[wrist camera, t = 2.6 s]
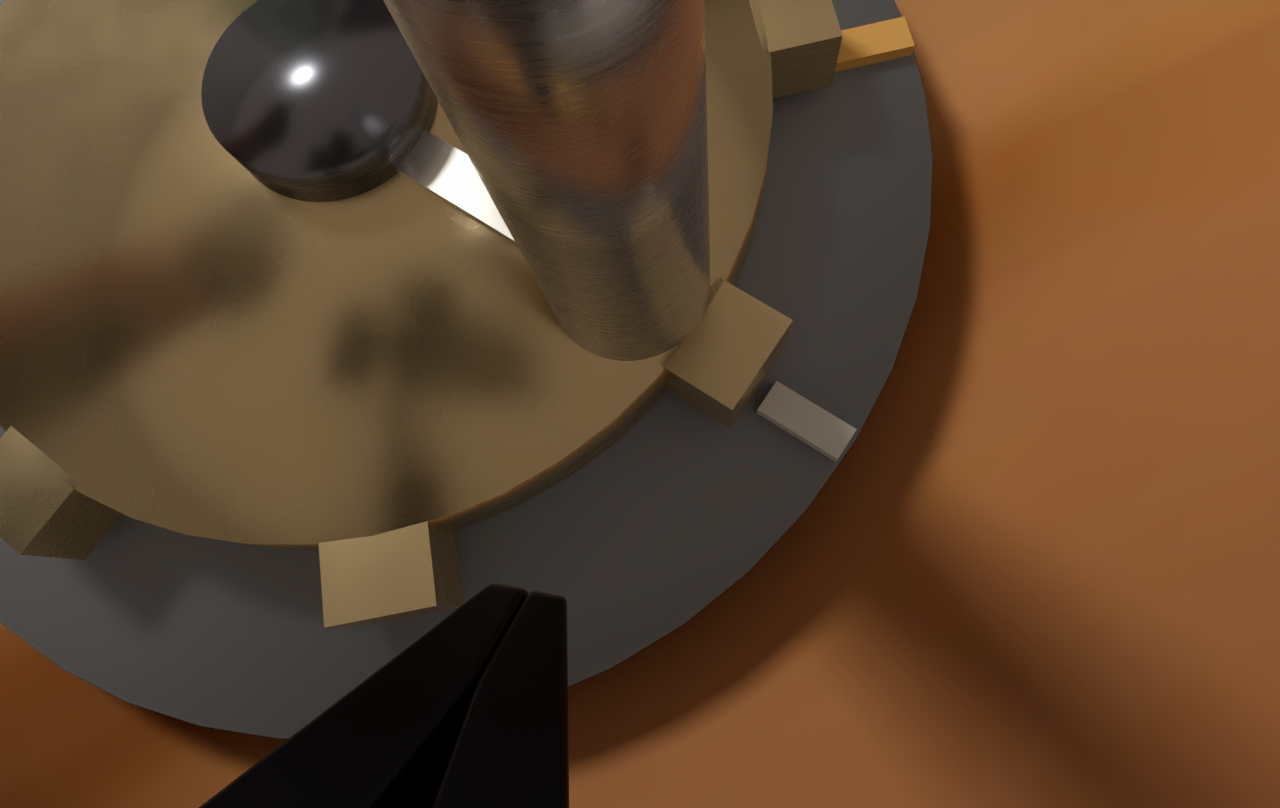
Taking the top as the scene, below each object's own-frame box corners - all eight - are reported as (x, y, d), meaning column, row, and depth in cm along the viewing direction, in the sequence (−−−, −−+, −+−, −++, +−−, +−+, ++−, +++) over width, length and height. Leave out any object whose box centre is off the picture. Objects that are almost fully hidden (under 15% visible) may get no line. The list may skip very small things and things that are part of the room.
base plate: (1118, 490, 16) (1168, 475, 14) (-26, 900, 16) (-115, 935, 14) (697, -304, 23) (695, -379, 21) (-99, -15, 23) (-166, -66, 21)
